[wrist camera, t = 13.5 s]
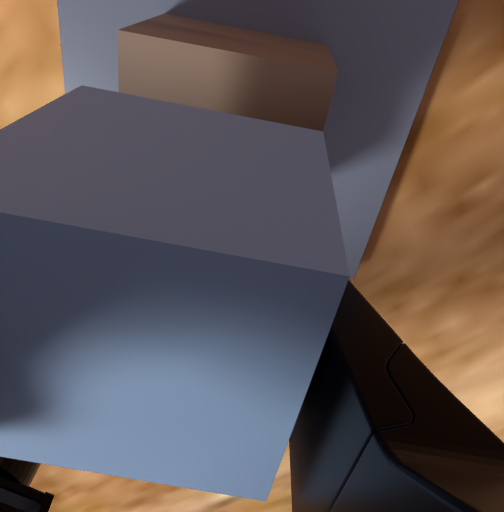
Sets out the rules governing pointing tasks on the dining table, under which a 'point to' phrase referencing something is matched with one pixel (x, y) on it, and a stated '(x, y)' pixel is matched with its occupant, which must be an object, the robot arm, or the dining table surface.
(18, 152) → the blue brick
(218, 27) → the walnut brick
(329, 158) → the build plate
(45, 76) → the dining table surface
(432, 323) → the dining table surface
